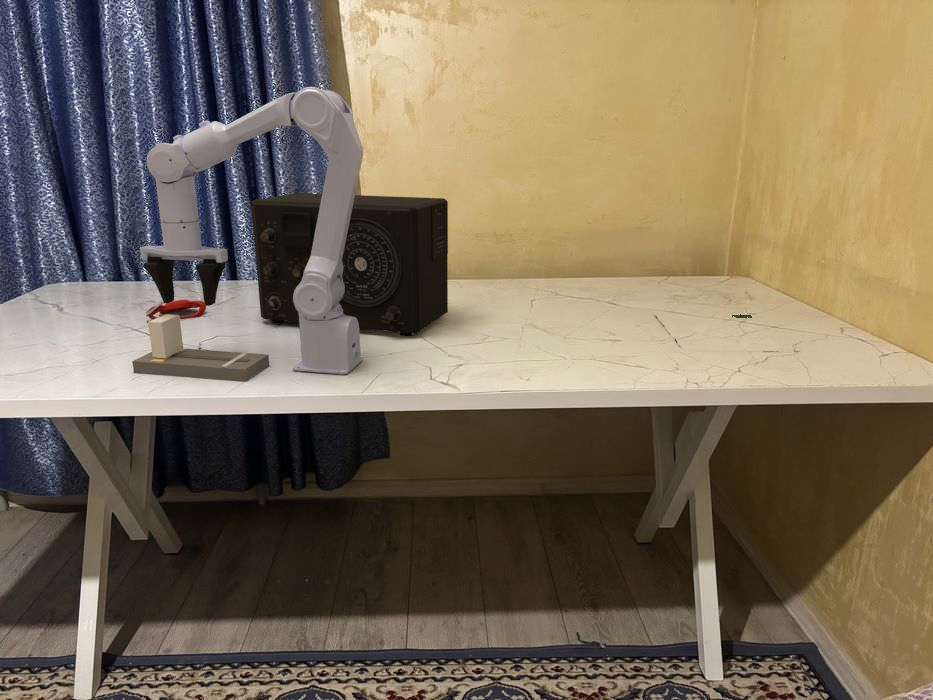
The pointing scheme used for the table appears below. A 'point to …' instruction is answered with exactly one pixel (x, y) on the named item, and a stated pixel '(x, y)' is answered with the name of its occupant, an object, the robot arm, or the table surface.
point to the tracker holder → (177, 308)
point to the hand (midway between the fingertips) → (189, 303)
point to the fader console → (204, 364)
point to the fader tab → (165, 335)
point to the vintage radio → (359, 258)
